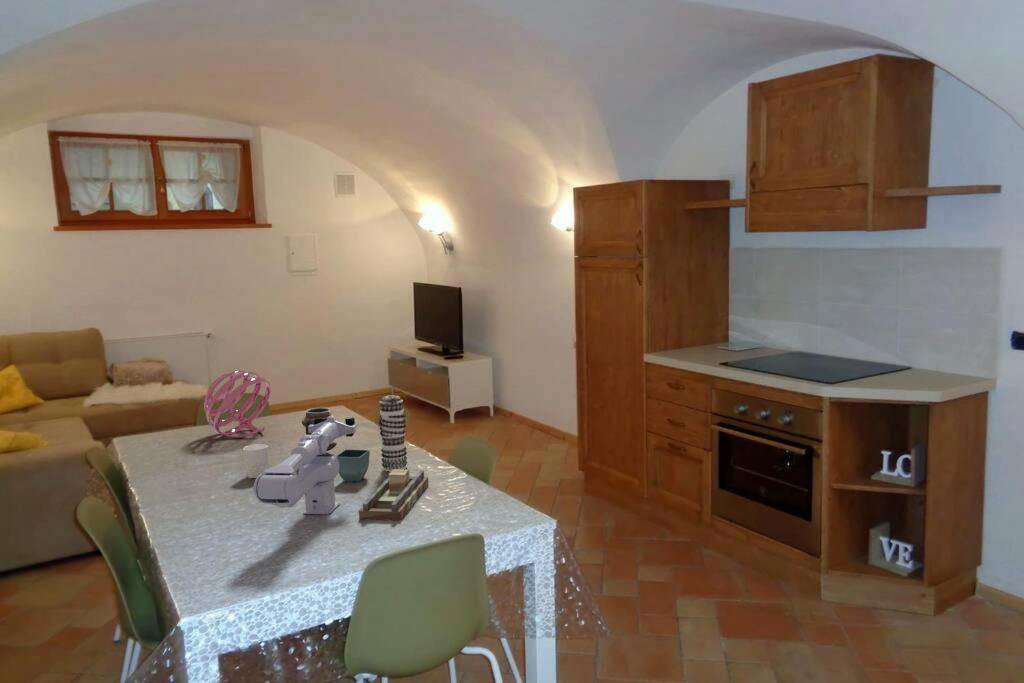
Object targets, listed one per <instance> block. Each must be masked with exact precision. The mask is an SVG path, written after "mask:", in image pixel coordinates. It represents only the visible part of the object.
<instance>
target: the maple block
mask: <svg viewBox="0 0 1024 683" xmlns="http://www.w3.org/2000/svg"><path fill="white" fill-rule="evenodd" d="M388 477H389V490H392V491H403V490H404V489H405V488H406V487H407V485H408V484H409V483H410V477H411V476H410V469H405V470H394V469H393V470H392V471H391V472H389V473H388Z"/></svg>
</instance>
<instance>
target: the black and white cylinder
mask: <svg viewBox="0 0 1024 683" xmlns="http://www.w3.org/2000/svg"><path fill="white" fill-rule="evenodd" d="M403 401H404V400H403V399H402V398H401V397H400V396H399V395H394V394H391V395H384V396H383V397H382V398H381V400H379V401H378V402H379V408H380V410H379V414H380V415H378V420H379V421H378V424H379V431H380V432H379V434H380V438H381V441H382V443H381V449H380V451H381V456H382V458H381V462H382V463H381V466H382V468H381V469H382V471H384V470H385V471H384V472H387V471H390V472H391V471H392V470H393V469H394V470H404V469H405V470H407V469H406V468H408V461H407V460H408V457H407V454H408V453H407V449H408V448H407V447H406V442H405V441H406V440H405V435H406V433H407V431H406V430H405V428H406V426H407V425H406V420H405V419H404V418H406V417H407V415H406V411H405V410H404V406H403V405H404V403H403ZM390 472H389V473H390Z"/></svg>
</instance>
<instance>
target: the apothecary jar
mask: <svg viewBox="0 0 1024 683" xmlns="http://www.w3.org/2000/svg"><path fill="white" fill-rule="evenodd" d="M327 417H334V420H335V421H337V420H336V417H335V415H334V414H332V412H331V409H330V408H329V407H313V408H309V409H306V411H305V416H303V418H302V420H301V425H302V426H303V427H304V428H305V435H311V434H312V433H309V431H308V426H310V425H314V420H315V419H316V418H322V419H324V418H327ZM337 443H338V441H337V438H336V439H335V440H333V441H332V442H331V443H330V444H329V447H328V448H327V451H326V453H325V455H324V454H322V455H317V456H320V457H332V456H335V454H333V453H330V452H329V451H331V450H333V449H335V447H336V446H337Z"/></svg>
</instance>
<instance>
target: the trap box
mask: <svg viewBox="0 0 1024 683" xmlns="http://www.w3.org/2000/svg"><path fill="white" fill-rule="evenodd" d="M424 472H425V471H424V470H419V471H418V473H416V474H415V476H409V477H410V483H409V484H408V485H407V487H406V488H405V489H404V490H403V491H392V490H389V476H388V477H387V478H386V479H385V480H384V481H383V483H381V485H380V486H378V487H377V489H376V490H374V492H373V493H372V494H371V495H370V496H369V497H368V498H367V499H366V500H365V501H364V502H363V503H362V507H361V508H360V509H359V510H358V520H363V519H370V520H369V521H372V520H373V521H401V520H402V519H403V518H404V516H406V514H407V513H408V511H409V510H410V509H411V508H412V506H413V505H414V503H415V502H416V501H417V500H418V499H419V497H420V496H421V495H422V494H423V492H424V491H425V490H426V488H427V487H428V486H429V476H425V473H424ZM427 485H428V486H427ZM426 486H427V487H426ZM423 490H424V491H423ZM422 491H423V492H422ZM420 494H421V495H420ZM419 495H420V496H419ZM417 498H418V499H417Z"/></svg>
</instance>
